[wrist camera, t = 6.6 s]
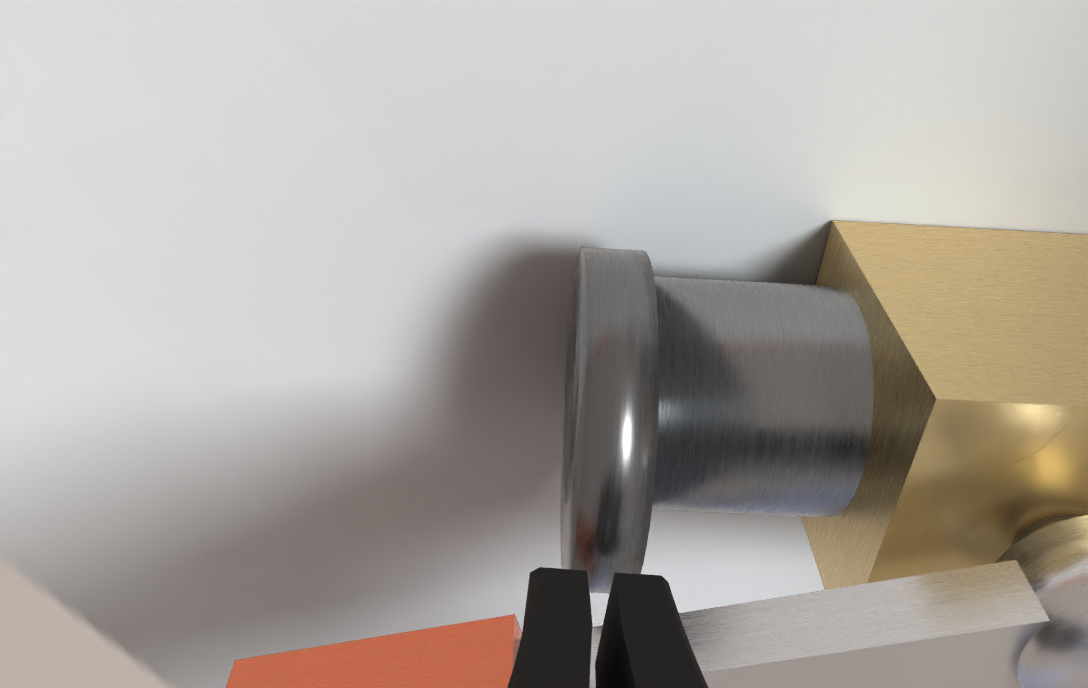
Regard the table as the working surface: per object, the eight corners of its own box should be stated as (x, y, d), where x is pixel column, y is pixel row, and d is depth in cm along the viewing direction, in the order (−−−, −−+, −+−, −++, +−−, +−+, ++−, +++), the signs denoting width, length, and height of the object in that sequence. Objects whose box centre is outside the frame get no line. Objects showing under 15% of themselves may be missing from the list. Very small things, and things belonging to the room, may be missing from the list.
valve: (559, 438, 19) (561, 667, 14) (581, 190, 16) (593, 380, 11) (1215, 469, 19) (1428, 704, 14) (1364, 234, 16) (1696, 436, 11)
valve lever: (1191, 498, 12) (1263, 583, 10) (1166, 626, 13) (1226, 713, 12) (232, 656, 14) (202, 741, 12) (300, 752, 15) (278, 837, 14)
